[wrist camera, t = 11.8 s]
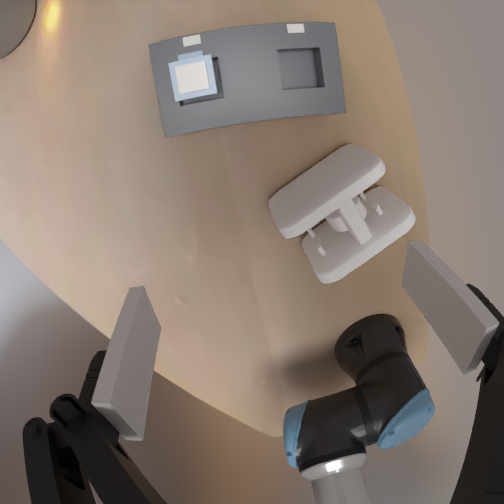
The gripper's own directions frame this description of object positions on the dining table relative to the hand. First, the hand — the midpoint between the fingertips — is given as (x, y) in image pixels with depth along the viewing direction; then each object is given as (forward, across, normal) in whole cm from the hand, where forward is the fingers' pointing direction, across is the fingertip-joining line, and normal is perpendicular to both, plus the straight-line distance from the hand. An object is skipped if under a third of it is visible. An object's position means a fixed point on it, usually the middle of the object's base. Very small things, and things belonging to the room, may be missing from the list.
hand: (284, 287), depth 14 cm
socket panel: (+29, -2, -11) cm, 31 cm away
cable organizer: (+29, -11, +7) cm, 32 cm away
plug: (+28, +4, -11) cm, 31 cm away
